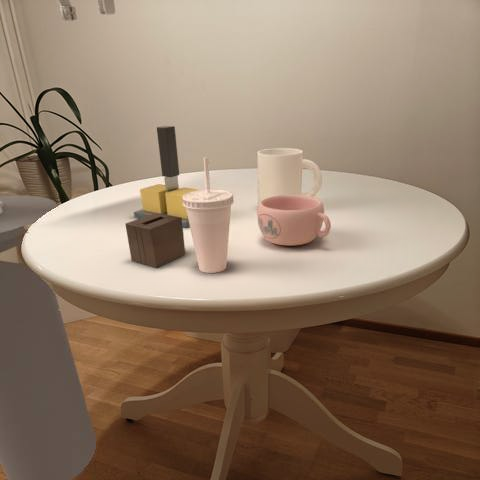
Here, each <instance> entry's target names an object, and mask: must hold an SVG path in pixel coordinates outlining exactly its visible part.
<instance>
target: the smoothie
mask: <svg viewBox="0 0 480 480" xmlns="http://www.w3.org/2000/svg"><path fill="white" fill-rule="evenodd" d="M209 164H210V163H209V157H208V156H204V157H203V170H204V183H205V184H204V185H205V189H199V191H193V192H190V193H187V194H185V195H184V196H183V206H184V207H186V210H187V215H188V220H189V224H190V227H189V229H190V233H191V238H192V243H193V248H194V251H195V257H196V261H197V265H198V269H199V271H200V272H202V273H207V274H216V273H220V272H223V271H225V270H226V269H227V261H228V248H229V237H230V236H229V235H230V226H231V225H230V223H231V210H232V206H233V204H234V203H235V200H234V193H232V192H230V191H228V190H223V189H211V183H210V182H211V181H210V180H211V179H210V166H209Z"/></svg>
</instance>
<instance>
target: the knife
mask: <svg viewBox="0 0 480 480" xmlns="http://www.w3.org/2000/svg"><path fill="white" fill-rule="evenodd" d="M156 134H157V143H158V151H159V160H160V168H161V169H160V170H161V176H162V177H163V178H164V185H165V187H166V193H167V192H170V191H174V190H177V189H180V187H179V185H180V184H179V176H180V165H179V156H178V146H177V136H176V127H175V126H174V125H163V126H157V127H156Z"/></svg>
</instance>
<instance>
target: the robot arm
mask: <svg viewBox="0 0 480 480" xmlns="http://www.w3.org/2000/svg"><path fill="white" fill-rule="evenodd" d="M55 1H56V3H57V5H58V7H59V9H60V13H61V18H62V20H63V21H66V22H71V21H72V22H73V21H76V20H77V19H78V15H77V11H76V7H75V6H72V4H71V2H70V0H55ZM97 2H98V3H97V4H98V6H99V8H98V10H99V12H100V14H101V15H106V16H110V15H114V14H115V13H116V7H115V6H116V5H115V0H97ZM3 206H4V204H3V202H2V201H0V214H1V213H2V212H3V209H2V207H3Z"/></svg>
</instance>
